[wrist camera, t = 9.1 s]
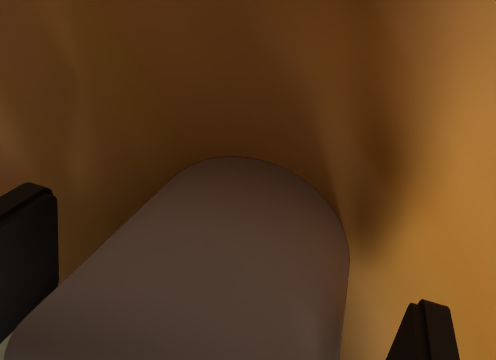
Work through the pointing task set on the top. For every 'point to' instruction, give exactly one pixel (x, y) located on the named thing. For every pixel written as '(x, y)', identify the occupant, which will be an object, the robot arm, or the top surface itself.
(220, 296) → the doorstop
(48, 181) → the top surface
